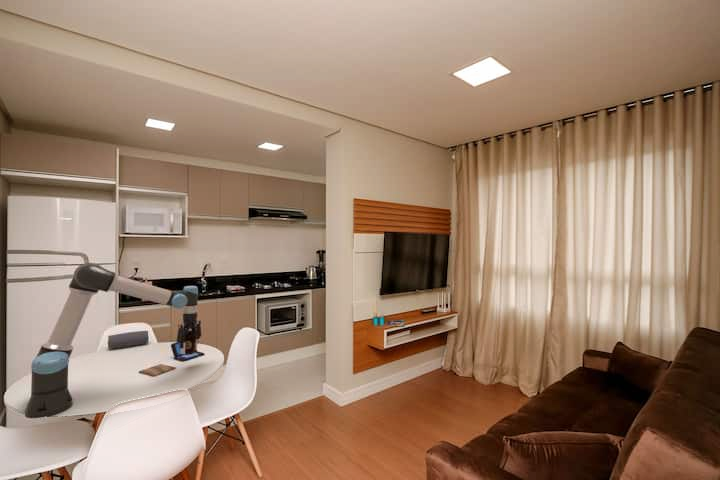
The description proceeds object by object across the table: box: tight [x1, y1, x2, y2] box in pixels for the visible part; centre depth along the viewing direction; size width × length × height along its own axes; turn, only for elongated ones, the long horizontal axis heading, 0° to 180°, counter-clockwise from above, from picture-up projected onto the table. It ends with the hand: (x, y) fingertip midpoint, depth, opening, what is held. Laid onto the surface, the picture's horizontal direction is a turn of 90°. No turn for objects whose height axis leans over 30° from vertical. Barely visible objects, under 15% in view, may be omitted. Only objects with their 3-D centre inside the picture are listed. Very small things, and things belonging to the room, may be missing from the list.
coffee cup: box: [183, 330, 198, 355], centre depth 194 cm, size 9×8×13 cm
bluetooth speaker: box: [107, 330, 150, 349], centre depth 232 cm, size 23×9×10 cm, turn 130°
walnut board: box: [138, 363, 177, 378], centre depth 189 cm, size 13×13×1 cm
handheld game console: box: [170, 341, 205, 362], centre depth 213 cm, size 16×13×9 cm
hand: (188, 351), depth 194 cm, fingers closed on coffee cup, 7 cm apart
